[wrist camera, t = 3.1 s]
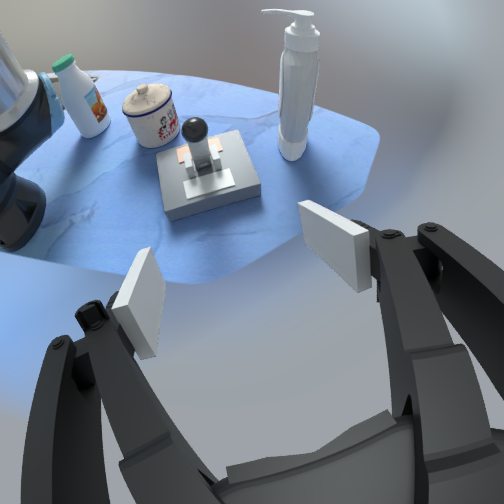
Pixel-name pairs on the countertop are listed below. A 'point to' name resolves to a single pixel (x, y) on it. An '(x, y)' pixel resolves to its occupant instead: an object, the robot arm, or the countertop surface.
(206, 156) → the lever
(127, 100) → the teacup with lid
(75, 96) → the milk bottle
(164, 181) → the switch base
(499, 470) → the robot arm
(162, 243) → the countertop surface
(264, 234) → the countertop surface
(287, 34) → the soap bottle
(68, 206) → the countertop surface
